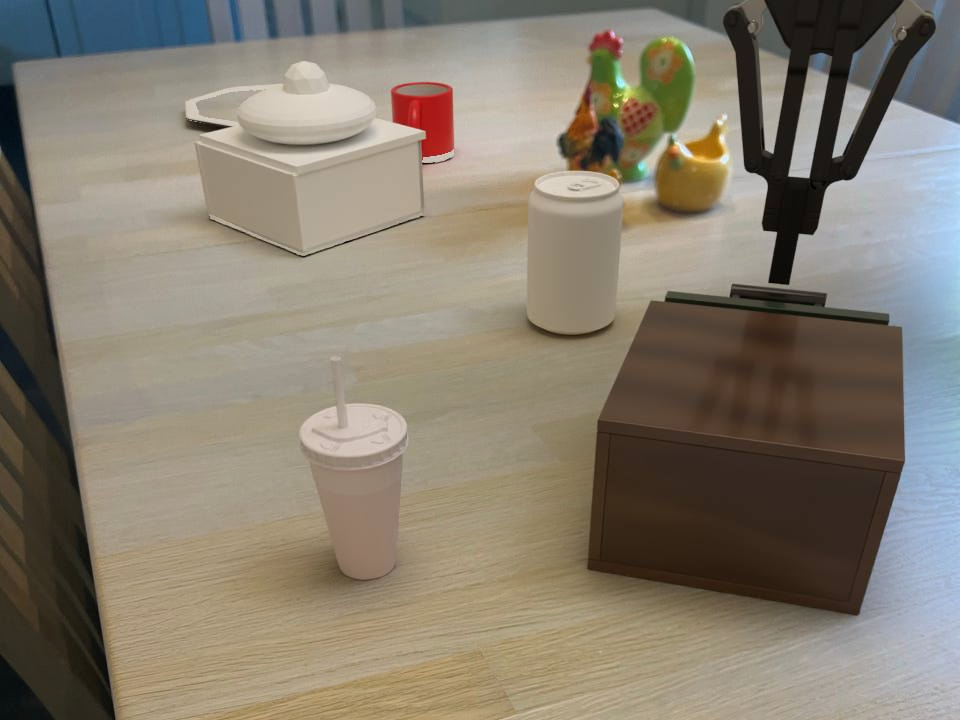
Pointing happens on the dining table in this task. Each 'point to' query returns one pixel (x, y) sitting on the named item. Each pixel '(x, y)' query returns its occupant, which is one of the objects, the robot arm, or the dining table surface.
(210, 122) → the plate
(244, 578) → the dining table surface
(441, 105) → the mug
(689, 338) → the cabinet
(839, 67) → the robot arm
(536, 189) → the beverage can
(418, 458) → the dining table surface
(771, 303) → the drawer
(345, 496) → the smoothie
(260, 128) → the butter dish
